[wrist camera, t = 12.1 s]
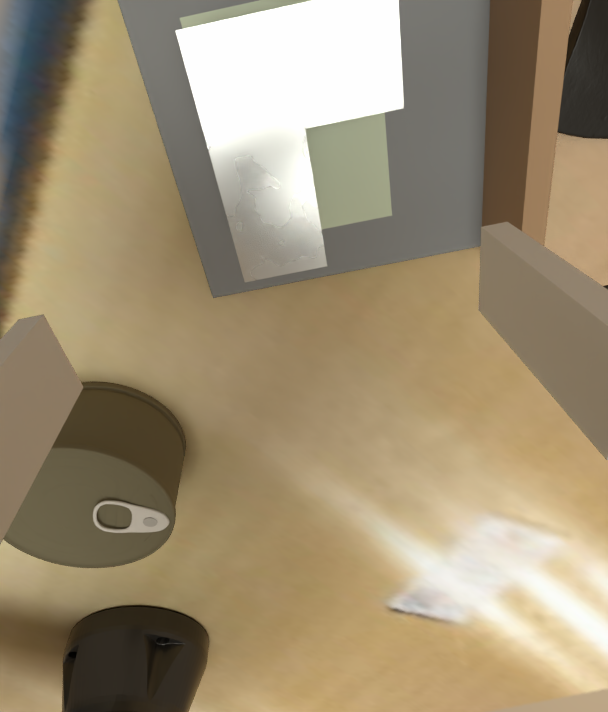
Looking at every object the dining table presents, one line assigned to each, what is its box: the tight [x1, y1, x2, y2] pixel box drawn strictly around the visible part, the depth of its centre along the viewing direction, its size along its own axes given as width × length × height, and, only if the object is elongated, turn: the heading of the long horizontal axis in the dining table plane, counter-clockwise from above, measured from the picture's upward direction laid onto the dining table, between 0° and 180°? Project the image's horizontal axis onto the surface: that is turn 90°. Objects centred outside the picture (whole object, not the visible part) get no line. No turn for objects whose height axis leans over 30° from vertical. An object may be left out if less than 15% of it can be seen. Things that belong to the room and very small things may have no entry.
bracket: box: [176, 0, 404, 282], centre depth 22 cm, size 10×8×6 cm
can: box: [3, 382, 186, 568], centre depth 33 cm, size 12×12×7 cm
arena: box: [118, 0, 573, 298], centre depth 22 cm, size 18×18×6 cm
